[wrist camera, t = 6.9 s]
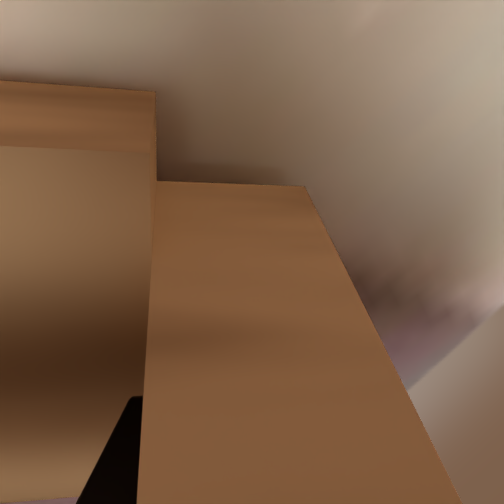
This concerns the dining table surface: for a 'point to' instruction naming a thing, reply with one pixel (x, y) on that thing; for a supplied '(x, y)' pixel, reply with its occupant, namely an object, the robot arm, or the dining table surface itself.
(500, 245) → the dining table surface
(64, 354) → the stepped wooden corner piece
